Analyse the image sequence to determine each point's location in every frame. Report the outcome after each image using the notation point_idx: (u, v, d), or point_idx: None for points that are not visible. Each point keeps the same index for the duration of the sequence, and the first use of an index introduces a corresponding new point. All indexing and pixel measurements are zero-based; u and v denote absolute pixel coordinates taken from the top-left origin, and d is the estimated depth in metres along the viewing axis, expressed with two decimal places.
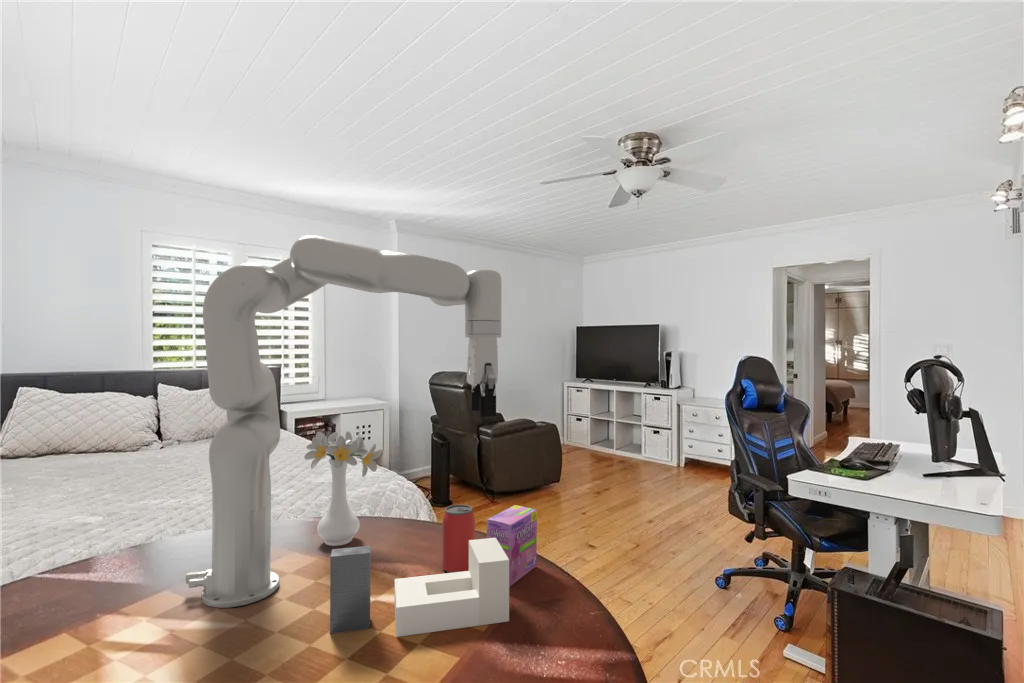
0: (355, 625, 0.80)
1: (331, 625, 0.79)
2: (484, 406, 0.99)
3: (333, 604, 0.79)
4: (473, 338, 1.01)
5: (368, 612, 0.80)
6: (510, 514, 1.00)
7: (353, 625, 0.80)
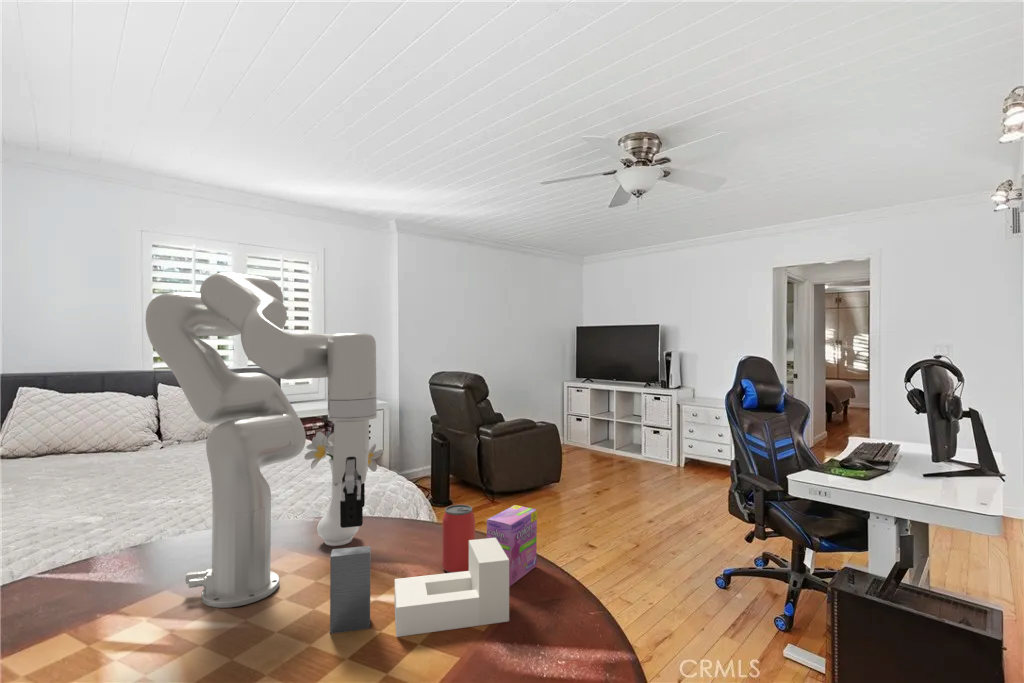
0: (355, 625, 0.80)
1: (331, 625, 0.79)
2: (345, 514, 0.76)
3: (333, 604, 0.79)
4: None
5: (368, 612, 0.80)
6: (510, 514, 1.00)
7: (353, 625, 0.80)
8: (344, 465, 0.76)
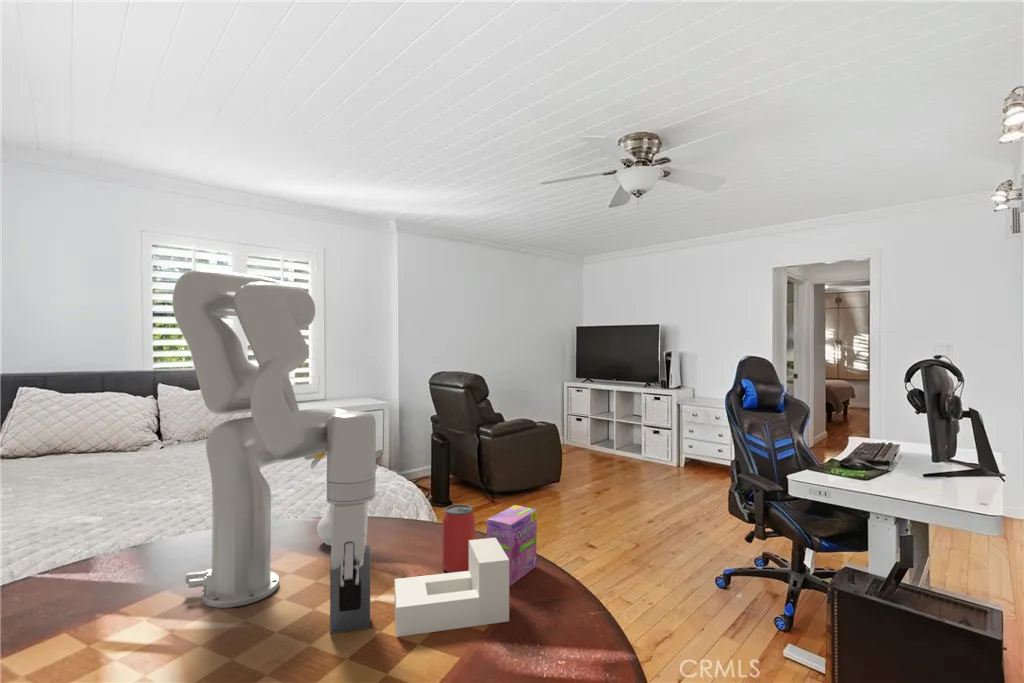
0: (355, 625, 0.80)
1: (331, 625, 0.79)
2: None
3: (333, 604, 0.79)
4: (333, 505, 0.78)
5: (368, 612, 0.80)
6: (510, 514, 1.00)
7: (353, 625, 0.80)
8: (342, 550, 0.76)
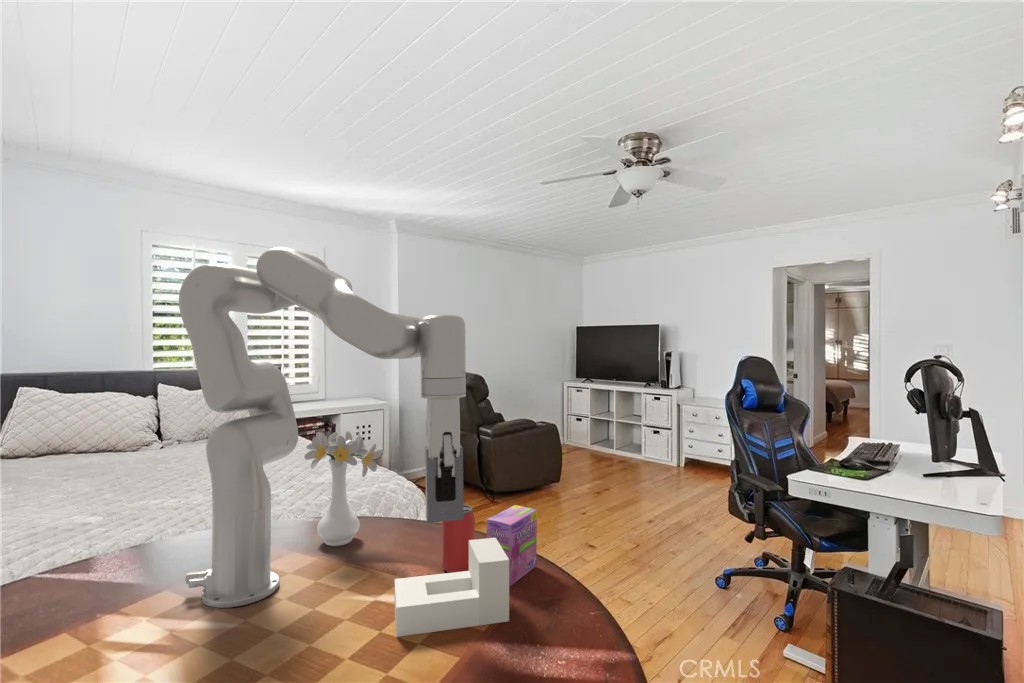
0: (450, 516, 0.84)
1: (428, 515, 0.83)
2: (441, 489, 0.82)
3: (429, 495, 0.83)
4: (429, 400, 0.82)
5: (462, 504, 0.84)
6: (510, 514, 1.00)
7: (448, 516, 0.84)
8: (441, 440, 0.80)
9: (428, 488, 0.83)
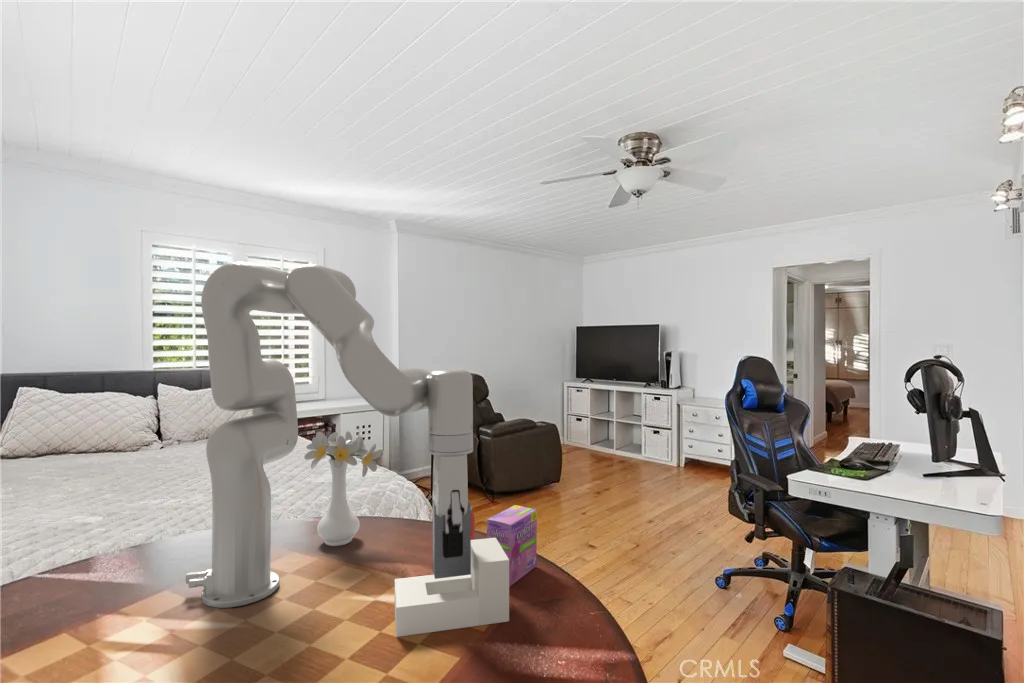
0: (457, 571, 0.84)
1: (436, 571, 0.83)
2: (448, 545, 0.83)
3: (437, 551, 0.83)
4: (437, 457, 0.82)
5: (469, 559, 0.84)
6: (510, 514, 1.00)
7: (455, 571, 0.84)
8: (449, 498, 0.80)
9: (436, 544, 0.83)
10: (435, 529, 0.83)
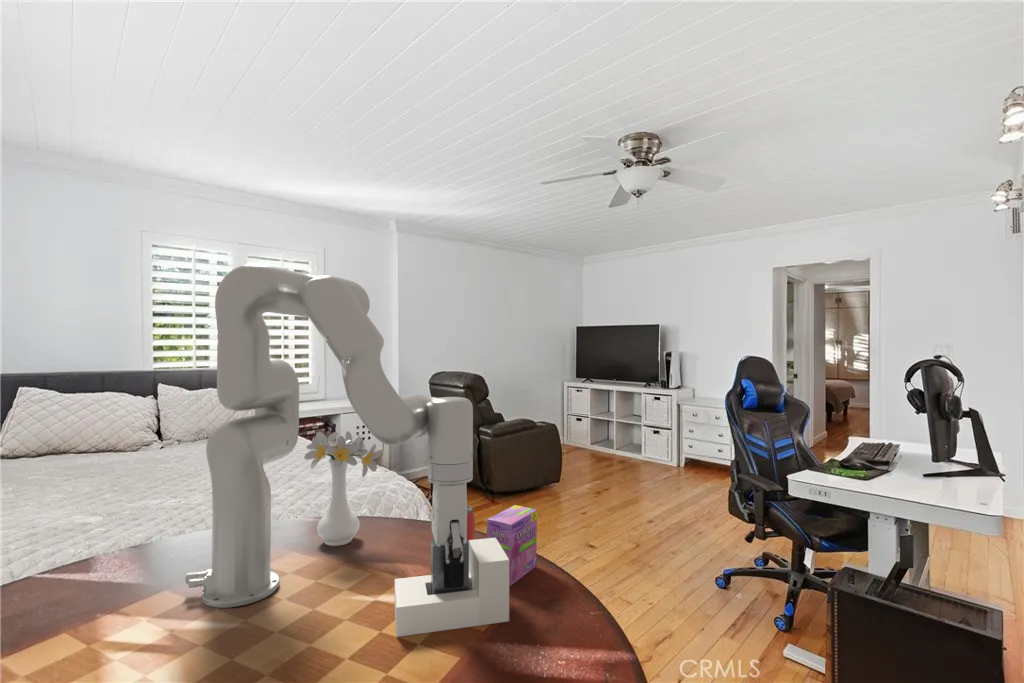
0: None
1: None
2: (449, 575, 0.80)
3: (435, 592, 0.83)
4: (437, 485, 0.82)
5: None
6: (510, 514, 1.00)
7: None
8: (448, 528, 0.80)
9: (434, 585, 0.83)
10: (433, 570, 0.83)
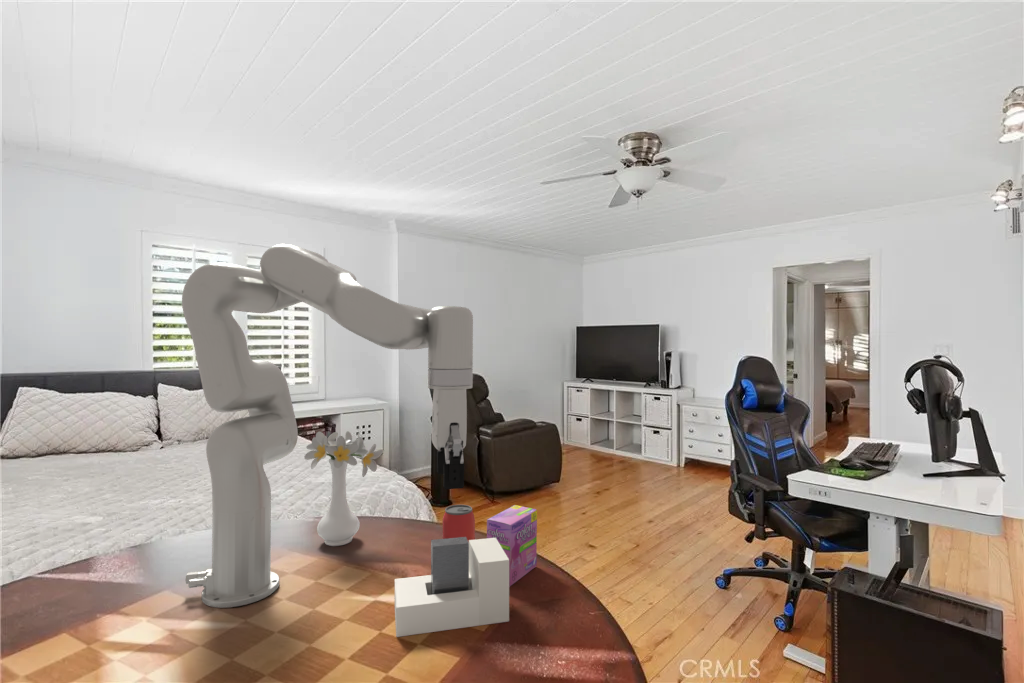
0: None
1: None
2: (449, 476, 0.80)
3: (435, 592, 0.83)
4: (437, 391, 0.83)
5: None
6: (510, 514, 1.00)
7: None
8: (448, 430, 0.80)
9: (434, 585, 0.83)
10: (433, 570, 0.83)
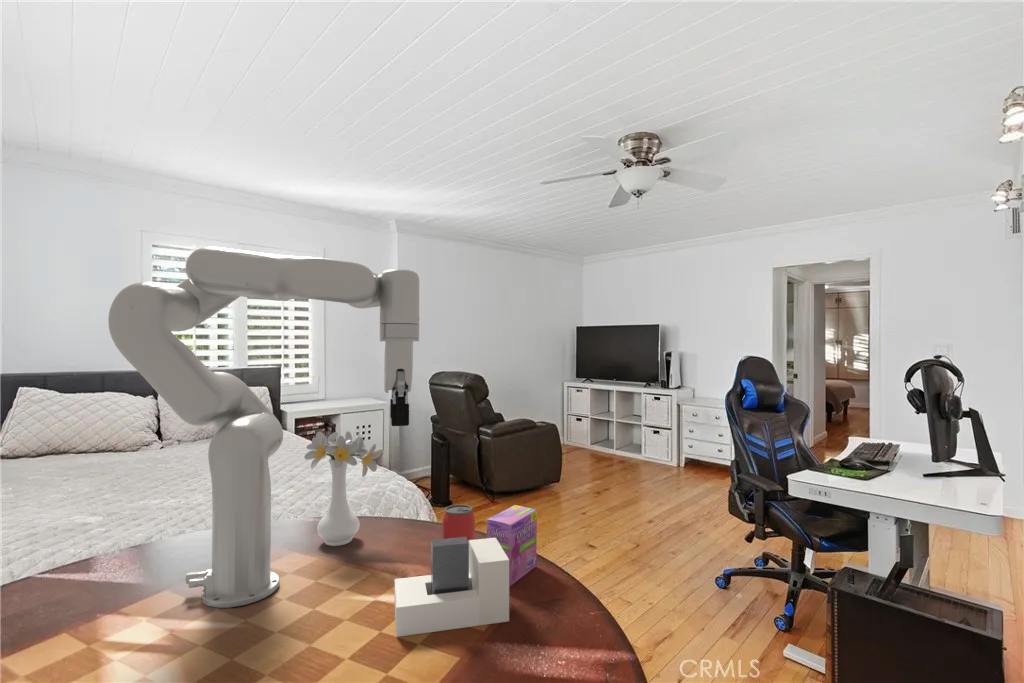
0: None
1: None
2: (395, 414, 0.93)
3: (435, 592, 0.83)
4: (386, 342, 0.95)
5: None
6: (510, 514, 1.00)
7: None
8: (395, 375, 0.93)
9: (434, 585, 0.83)
10: (433, 570, 0.83)
